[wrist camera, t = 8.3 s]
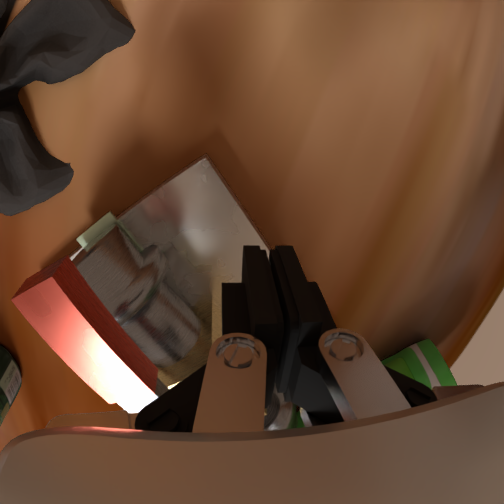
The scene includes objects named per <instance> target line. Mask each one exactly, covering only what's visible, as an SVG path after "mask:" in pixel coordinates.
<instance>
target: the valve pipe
mask: <svg viewBox="0 0 504 504" xmlns="http://www.w3.org/2000/svg"><path fill="white" fill-rule="evenodd" d="M76 240H77V241H78V242H79V244H80V245H81V246H80V247H78V248H77V249H76V250H75V251H74V252H72V253H71V254H70V255H69V258H70V259H71V261H72V262H73V264H74V265H75V267H76V268H77V269H78V271H79V272H80V274H81V275H82V276H83V278H84V279H85V281H86V282H87V283H88V285H89V286H90V287H91V289H92V290H93V291H94V293H95V294H96V295H97V297H98V298H99V299H100V301H101V302H102V303H103V305H104V306H105V307H106V308H107V310H108V311H109V312H110V313H111V315H112V316H113V317H114V318H115V320H116V321H117V322H118V323H119V325H120V326H121V327H122V328H123V329H124V331H125V332H126V333H127V334H128V335H129V337H130V338H131V339H132V340H133V341H134V343H135V344H136V345H137V346H138V347H139V348H140V349H141V351H142V352H143V353H144V354H145V355H146V356H147V357H148V358H149V360H150V361H151V362H152V363H153V364H154V365H155V366H156V367H157V368H158V376H157V377H158V378H159V379H160V380H161V381H162V382H163V383H164V384H165V385H166V386H167V387H168V388H169V389H171V388H172V387H174V386H175V385H177V384H178V383H180V382H181V381H182V380H184V379H185V378H187V377H188V376H190V375H191V374H192V373H194V372H195V371H197V370H198V369H199V368H201V367H202V366H204V365H205V364H206V363H207V360H208V356H209V351H210V348H211V346H212V344H213V342H214V341H215V340H216V339H217V338H219V337H221V336H222V283H241V279H242V257H243V245H260V249H261V250H266V252H267V256H268V260H269V252H270V250H272V249H271V248H270V246H269V245H268V243H267V242H266V240H265V239H264V237H263V236H262V234H261V233H260V231H259V230H258V228H257V227H256V225H255V224H254V222H253V221H252V219H251V218H250V216H249V215H248V213H247V212H246V211H245V209H244V208H243V206H242V205H241V203H240V202H239V200H238V199H237V197H236V196H235V194H234V193H233V191H232V190H231V188H230V187H229V185H228V184H227V183H226V181H225V180H224V178H223V177H222V175H221V174H220V172H219V171H218V169H217V168H216V166H215V165H214V164H213V162H212V161H211V159H210V158H209V156H208V155H207V153H206V154H204V155H203V156H201V157H200V158H198V159H197V160H195V161H194V162H192V163H191V164H189V165H188V166H186V167H185V168H183V169H182V170H180V171H179V172H177V173H176V174H174V175H173V176H171V177H170V178H169V179H167V180H166V181H164V182H163V183H161V184H160V185H159V186H157V187H156V188H154V189H153V190H152V191H150V192H149V193H148V194H146V195H145V196H143V197H142V198H141V199H139V200H138V201H137V202H135V203H134V204H133V205H131V206H130V207H129V208H127V209H126V210H125V211H123V212H122V213H121V214H119V215H118V216H117V217H115V215H114V214H113V213H112V212H111V211H109V212H108V213H107V214H106V215H104V216H103V217H102V218H101V219H99V220H98V221H97V222H96V223H94V224H93V225H92V226H91V227H90V228H88V229H87V230H86V231H85V232H84V233H83V234H81V235H80V236H79V237H78V238H77V239H76ZM297 425H298V417H297V414H296V404H294V403H292V402H285V401H284V396H283V393H277V389H276V384H275V385H274V391H273V394H272V399H271V404H270V405H269V406H268V407H267V408H266V409H265V411H264V431H270V430H282V429H293V428H297Z"/></svg>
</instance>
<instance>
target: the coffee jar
mask: <svg viewBox="0 0 504 504" xmlns="http://www.w3.org/2000/svg"><path fill="white" fill-rule="evenodd" d="M21 382H22V380H21V372H20V369H19V366H18V364H17V363H16V361H15V360H14V358H13V357H12V356H11V354H10V353H9V352H8V351H7V350H6V349H5V348H4V347H2V346H1V345H0V426H1V424H2V422H3V420H4V418H5V416H6V414H7V412H8V411H9V409H10V407H11V405H12V403H13V402H14V400H15V398H16V396H17V394H18V392H19V389H20V387H21Z"/></svg>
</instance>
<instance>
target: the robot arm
mask: <svg viewBox="0 0 504 504" xmlns="http://www.w3.org/2000/svg"><path fill="white" fill-rule="evenodd" d="M275 384H276V389H277V393H283V396H284V401H285V402H292V403H294V404H296V405H297V406H299V407H300V410H299V411H300V415H301V418H302V420H303V423H304V425H305V427H302V428H293V429H282V430H270V431H264V411H265V409H266V408H267V407H268V406H269V405H270V404H271V399H272V394H273V391H274V385H275ZM0 504H504V382H499V383H494V384H491V385H487V386H483V385H459V386H434V387H433V388H432V390H431V389H430V388H429V387H427V386H426V385H424V384H423V383H420V382H418V381H416V380H414V379H412V378H410V377H408V376H406V375H404V374H401V373H399V372H397V371H395V370H393V369H391V368H389V367H387V366H385V365H383V364H382V363H381V361H380V360H379V359H378V357H377V356H376V354H375V353H374V351H373V350H372V348H371V347H370V346H369V344H368V343H367V341H366V340H365V339H364V338H363V337H362V336H361V335H359V334H358V333H356V332H354V331H351V330H348V329H341V328H340V329H337V328H336V325H335V323H334V321H333V318H332V316H331V314H330V311H329V309H328V307H327V305H326V302H325V300H324V298H323V295H322V293H321V291H320V289H319V286H318V284H317V283H316V282H307V280H306V277H305V275H304V272H303V270H302V268H301V265H300V263H299V260H298V258H297V255H296V253H295V251H294V248H293V246H276V247H275V250H270V252H269V260H268V256H267V252H266V250H261V249H260V245H243V257H242V279H241V283H222V336H221V337H219V338H217V339H216V340H215V341H214V342H213V344H212V346H211V348H210V351H209V356H208V360H207V363H206V364H205V365H204V366H202V367H201V368H199V369H198V370H197V371H195V372H194V373H192V374H191V375H190V376H188V377H187V378H185V379H184V380H182V381H181V382H180V383H178V384H177V385H175V386H174V387H172V388H171V389H169V390H168V391H167V392H165V393H164V394H162V395H161V396H159V397H158V398H156V399H155V400H153V401H152V402H150V403H149V404H147V405H146V406H145V407H144V408H142V409H141V410H140V411H139V412H138V413H128V411H127V410H123V411H113V412H101V413H86V414H65V415H60V416H57V417H55V418H53V419H52V420H50V422H49V423H48V424H47V426H46V428H45V429H40V430H35V431H31V432H28V433H25V434H22V435H19V436H17V437H16V438H14V439H12V440H11V441H10V442H9V443H8V444H7V445H6V446H5V447H4V449H3V450H2V451H1V453H0Z"/></svg>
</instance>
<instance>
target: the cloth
mask: <svg viewBox="0 0 504 504" xmlns="http://www.w3.org/2000/svg"><path fill="white" fill-rule="evenodd" d="M16 3H17V0H0V213H3V214H4V215H7V216H12V215H15V214H17V213H20V212H22V211H26V210H29V209H30V208H31V207H33V206H34V205H36V204H39V203H41V202H44V201H46V200H48V199H49V198H51V197H52V196H54V195H56V194H57V193H59V192H61V191H63V190H64V189H65V188H66V187H67V186H68V185H69V184H70V181H71V179H72V177H73V172H74V171H73V169H72V168H71V166H70V163H64V162H62V161H60V160H58V159H57V158H55V157H53V156H51V155H50V154H49V153H48V152H47V151H46V150H45V148H44V147H43V146H42V144H41V143H40V142H39V140H38V139H37V137H36V135H35V133H34V131H33V129H32V127H31V124H30V122H29V120H28V118H27V116H26V114H25V113H24V110H23V107H22V105H21V104H20V102H19V99H18V92H19V90H20V89H21V88H22V87H23V86H25V85H27V84H29V83H31V82H33V81H35V80H37V81H43V82H46V83H47V84H53V83H57V82H62V81H64V80H66V79H68V78H70V77H72V76H74V75H77V74H79V73H81V72H83V71H84V70H85V69H87V68H88V67H89V66H90V65H92V64H93V63H94V62H95V61H96V60H98V59H99V58H100V57H102V56H103V55H104V54H106V53H108V52H110V51H112V50H114V49H116V48H117V47H121V46H123V45H125V44H127V43H128V42H129V41H130V39H131V38H132V36H133V34H134V32H135V29H134V28H133V26H132V24H131V23H130V22H129V21H128V20H127V19H126V18H125V17H124V16H123V15H122V14H120V13H119V12H118V11H117V10H116V9H115V8H114V7H113V6H112V5H111V4H110V2H109V1H108V0H31V1H30V2H29V3H28V4H27V5H26V6H25V8H24V9H23V10H22V11H21V12H20V13H19V14H18V15H17V16H16V17H15V18H14V19H13V21H12V22H11V23H10V25H9V26H8V23H9V20H10V18H11V15H12V12H13V10H14V8H15V5H16ZM7 26H8V27H7Z"/></svg>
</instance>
